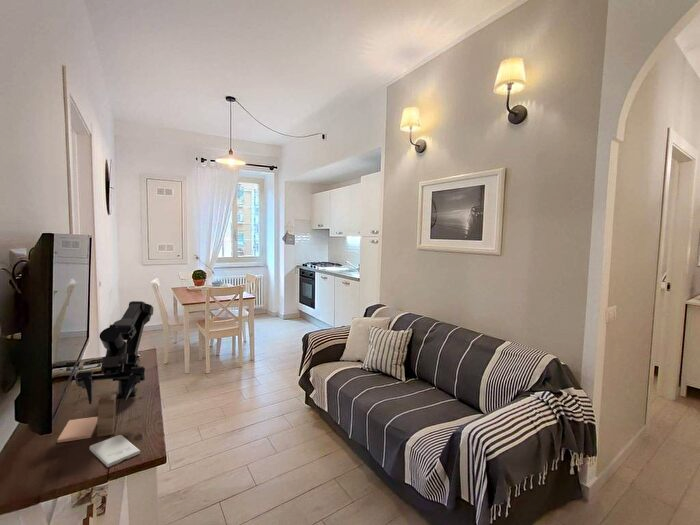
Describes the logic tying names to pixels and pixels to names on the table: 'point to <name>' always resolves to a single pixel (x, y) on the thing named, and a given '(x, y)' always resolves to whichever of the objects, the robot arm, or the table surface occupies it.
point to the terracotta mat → (78, 429)
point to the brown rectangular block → (106, 415)
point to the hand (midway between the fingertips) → (108, 401)
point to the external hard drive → (114, 450)
